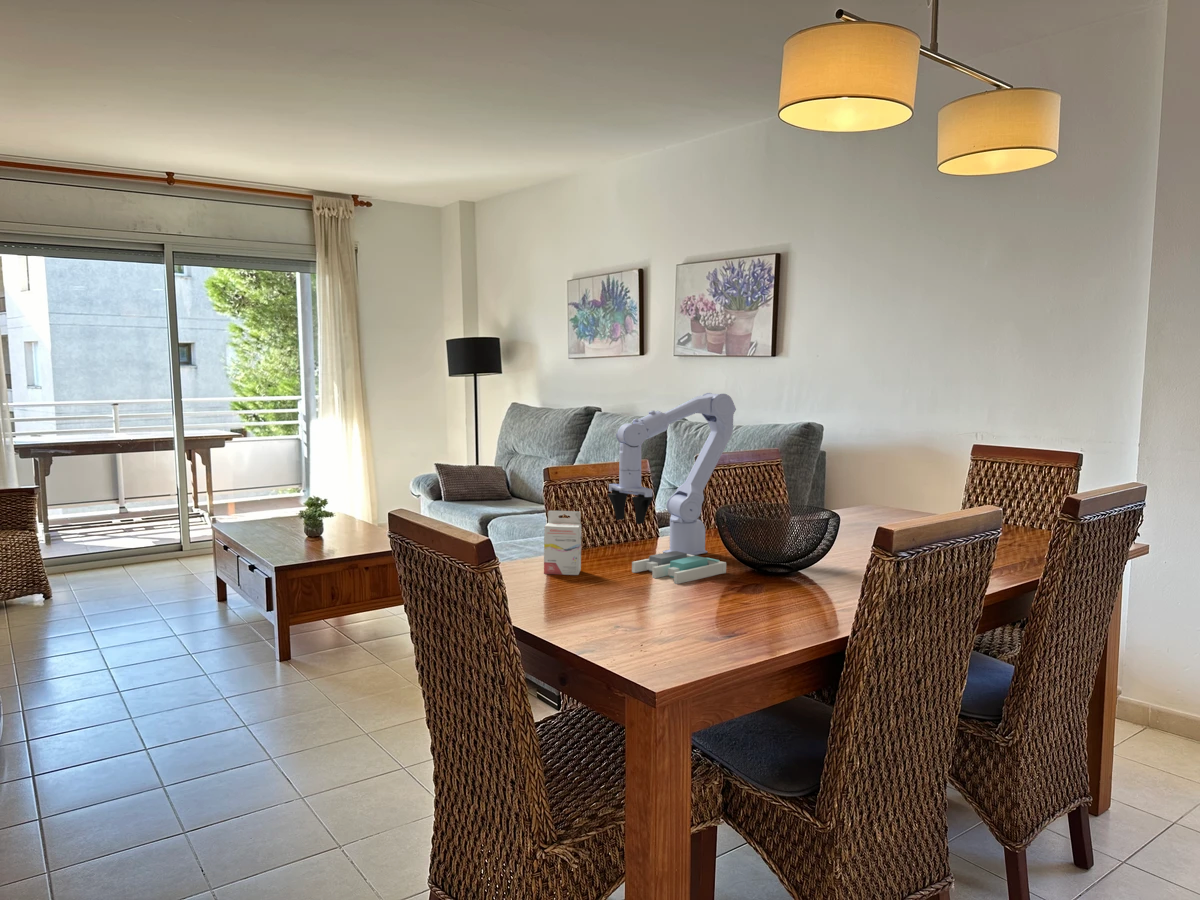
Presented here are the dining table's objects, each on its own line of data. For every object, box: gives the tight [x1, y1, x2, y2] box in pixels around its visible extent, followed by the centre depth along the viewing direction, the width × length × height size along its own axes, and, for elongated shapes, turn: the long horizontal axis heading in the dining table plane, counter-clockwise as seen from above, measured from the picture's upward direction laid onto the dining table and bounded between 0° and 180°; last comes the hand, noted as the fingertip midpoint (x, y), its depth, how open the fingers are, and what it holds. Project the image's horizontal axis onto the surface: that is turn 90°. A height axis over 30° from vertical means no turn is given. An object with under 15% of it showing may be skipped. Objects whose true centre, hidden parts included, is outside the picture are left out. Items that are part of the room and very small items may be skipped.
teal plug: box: [668, 555, 709, 579], centre depth 196 cm, size 13×4×4 cm, turn 134°
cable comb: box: [631, 554, 727, 585], centre depth 199 cm, size 17×15×3 cm
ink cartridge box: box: [543, 510, 582, 576], centre depth 198 cm, size 9×5×15 cm, turn 84°
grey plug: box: [646, 551, 687, 573], centre depth 201 cm, size 13×4×4 cm, turn 131°
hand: (629, 521), depth 215 cm, fingers open, 7 cm apart
